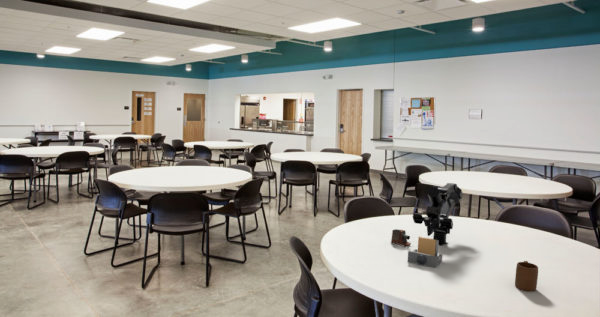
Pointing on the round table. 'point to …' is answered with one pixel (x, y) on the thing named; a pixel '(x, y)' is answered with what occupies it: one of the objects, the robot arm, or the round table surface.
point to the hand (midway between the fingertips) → (428, 235)
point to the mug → (526, 276)
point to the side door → (428, 246)
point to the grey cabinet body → (424, 259)
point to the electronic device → (400, 237)
